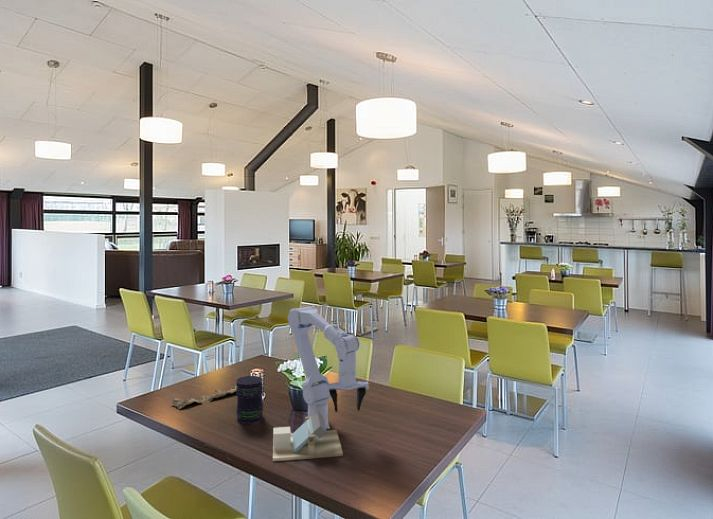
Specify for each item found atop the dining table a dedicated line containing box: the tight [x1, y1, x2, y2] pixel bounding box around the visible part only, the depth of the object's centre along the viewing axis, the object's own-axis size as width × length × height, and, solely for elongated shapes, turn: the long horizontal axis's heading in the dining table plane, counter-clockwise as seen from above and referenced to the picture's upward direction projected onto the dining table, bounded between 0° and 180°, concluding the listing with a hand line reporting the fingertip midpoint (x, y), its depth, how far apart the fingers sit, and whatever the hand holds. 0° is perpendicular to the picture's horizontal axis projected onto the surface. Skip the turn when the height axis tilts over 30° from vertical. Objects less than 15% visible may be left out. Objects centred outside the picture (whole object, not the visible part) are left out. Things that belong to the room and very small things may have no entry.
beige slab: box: [272, 416, 344, 462], centre depth 155 cm, size 17×22×7 cm
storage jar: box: [236, 375, 264, 425], centre depth 177 cm, size 10×10×15 cm
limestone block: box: [272, 426, 292, 449], centre depth 153 cm, size 5×5×6 cm
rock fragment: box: [170, 385, 237, 409], centre depth 200 cm, size 34×10×3 cm, turn 137°
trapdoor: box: [292, 411, 327, 453], centre depth 155 cm, size 12×12×3 cm
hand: (347, 410), depth 159 cm, fingers open, 7 cm apart
